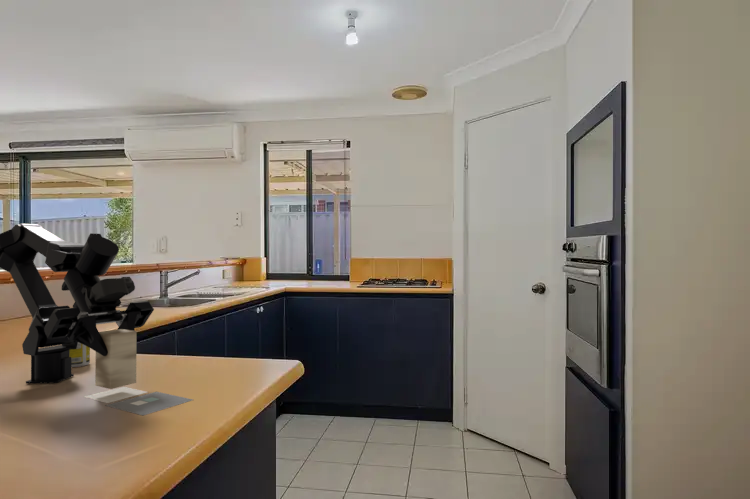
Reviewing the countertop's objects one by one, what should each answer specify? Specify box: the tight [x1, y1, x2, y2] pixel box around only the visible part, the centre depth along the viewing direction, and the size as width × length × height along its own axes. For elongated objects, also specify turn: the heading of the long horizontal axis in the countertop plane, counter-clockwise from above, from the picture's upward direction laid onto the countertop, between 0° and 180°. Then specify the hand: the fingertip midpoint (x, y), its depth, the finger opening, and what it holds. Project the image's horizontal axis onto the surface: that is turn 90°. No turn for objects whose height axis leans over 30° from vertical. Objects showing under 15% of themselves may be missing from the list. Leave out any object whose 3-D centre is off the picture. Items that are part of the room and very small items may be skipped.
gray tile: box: [104, 391, 194, 416], centre depth 85 cm, size 11×10×1 cm
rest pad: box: [83, 386, 149, 404], centre depth 91 cm, size 8×8×1 cm
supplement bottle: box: [69, 342, 91, 368], centre depth 118 cm, size 5×5×10 cm
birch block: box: [94, 328, 137, 390], centre depth 91 cm, size 5×5×10 cm
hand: (120, 352), depth 90 cm, fingers closed on birch block, 5 cm apart
